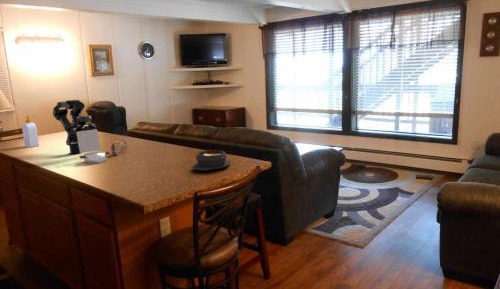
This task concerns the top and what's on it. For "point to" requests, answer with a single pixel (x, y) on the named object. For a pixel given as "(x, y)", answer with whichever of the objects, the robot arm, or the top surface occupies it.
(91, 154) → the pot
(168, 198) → the top surface
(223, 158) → the casserole
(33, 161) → the top surface
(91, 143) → the lid
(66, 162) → the top surface
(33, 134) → the soap bottle
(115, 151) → the tin
